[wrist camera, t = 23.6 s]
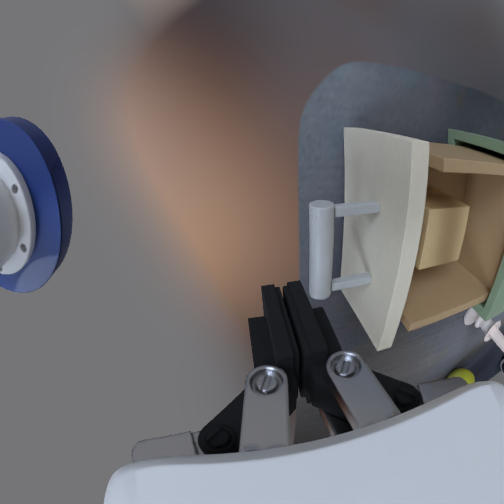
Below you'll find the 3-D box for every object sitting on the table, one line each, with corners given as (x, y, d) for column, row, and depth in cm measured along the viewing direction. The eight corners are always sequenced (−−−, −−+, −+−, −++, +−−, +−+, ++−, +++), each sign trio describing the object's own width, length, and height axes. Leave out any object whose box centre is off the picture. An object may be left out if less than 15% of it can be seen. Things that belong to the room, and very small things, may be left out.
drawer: (292, 296, 23) (319, 367, 16) (284, 129, 17) (327, 138, 10) (446, 263, 24) (491, 305, 17) (465, 137, 18) (529, 159, 11)
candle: (459, 318, 31) (496, 364, 22) (480, 292, 29) (521, 334, 20) (467, 326, 33) (500, 368, 24) (487, 303, 31) (522, 342, 22)
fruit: (452, 363, 38) (481, 407, 27) (468, 358, 39) (495, 397, 28) (433, 385, 41) (457, 428, 30) (450, 380, 42) (474, 419, 32)
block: (388, 242, 20) (418, 270, 16) (393, 189, 18) (430, 209, 14) (427, 235, 21) (458, 260, 17) (434, 187, 18) (470, 206, 14)
